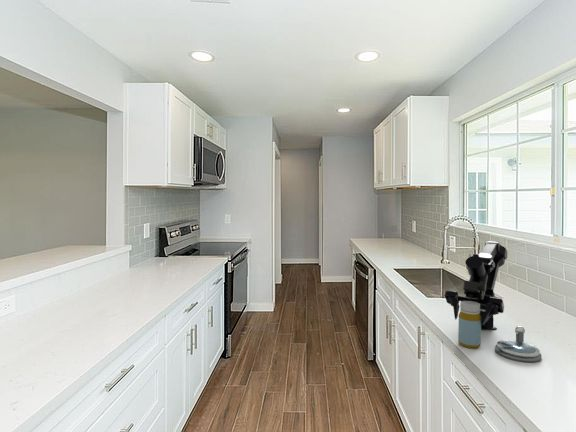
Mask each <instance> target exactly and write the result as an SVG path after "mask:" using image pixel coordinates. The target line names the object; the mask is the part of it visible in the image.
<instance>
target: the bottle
mask: <svg viewBox="0 0 576 432" xmlns="http://www.w3.org/2000/svg"><path fill="white" fill-rule="evenodd" d="M459 306H460V307H459V312H458V331H457V332H458V334H457V336H458V337H457V339H458V341H457V342H458V344H459V345H460V346H462V347H463V348H467V349H473V350H474V349H478V348H479V347H481V345H482V344H481V342H482V341H481V338H482V337H481V336H482V329H481V316H480V304H479V303H477V302H473V301H459Z"/></svg>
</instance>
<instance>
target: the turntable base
mask: <svg viewBox="0 0 576 432" xmlns="http://www.w3.org/2000/svg"><path fill="white" fill-rule="evenodd" d="M514 332H515V341H520V342H524V340H525V339H524V338H525V337H524V335H525V332H526V329H525V327H523V326H521V325H518V326H515V329H514ZM524 343H525V342H524ZM494 351H495V353H497V355H499V356H501V357H503V358H505V359H508V360H510V361H515V362H520V363H527V364H528V363H530V364H532V363H539V362H541V360H542V354H541V352H540V355H539V356H538V357H535V358H523V357H517V356H513V355H509V354H506V353H504V352H502V351H500V350H499V349H498V348H497V344H496V345H495V346H494Z"/></svg>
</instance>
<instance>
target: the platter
mask: <svg viewBox="0 0 576 432" xmlns="http://www.w3.org/2000/svg"><path fill="white" fill-rule="evenodd" d="M496 345H497V348H498V349H499V350H500V351H502V352H504V353H506V354H509V355H513V356H517V357H523V358H535V357H538V356H539V355H540V353H541V351H540V349H539V348H538V347H536V346H535V345H533V344H530V343H527V342H520V341H516V340H514V339H513V340H512V339H501V340H499V341H497V342H496Z"/></svg>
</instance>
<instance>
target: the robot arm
mask: <svg viewBox="0 0 576 432" xmlns="http://www.w3.org/2000/svg"><path fill="white" fill-rule="evenodd" d="M507 259H508V250H507V248H506V247H505V246H503V245H501V244H500V242H497V241H486V242H485V243H484V247H483V248H482V250H481V252H480V253H473V255H472V256H469V257H467V259H465V266H466V270H467V273H468V275H469V280H464V281H463V288H462V290H463V293H464V294H463V295H460V294H459V293H458V291H456V290H451V289H450V290H449V289H448V290H447V289H446V291H445V292H444V295H443V296H444V299H445V301H446V303H447V304H448V305H450V306H452V307H453V314H454V320H457V319H458V318H459V313H460V302H461V301H473V302H477V303H479V304H480V316H481V330H497V329H498V327H497V326H494V316H496V315H499V314H503V313H504V311H505V304H504V300H503V298H502V297H497V296H496V295H495V292H494V289H495V286H496V281H497V277H498V273H499V268H500V267H502V266H504V265H505V262H506V260H507ZM464 295H465V296H464Z"/></svg>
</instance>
